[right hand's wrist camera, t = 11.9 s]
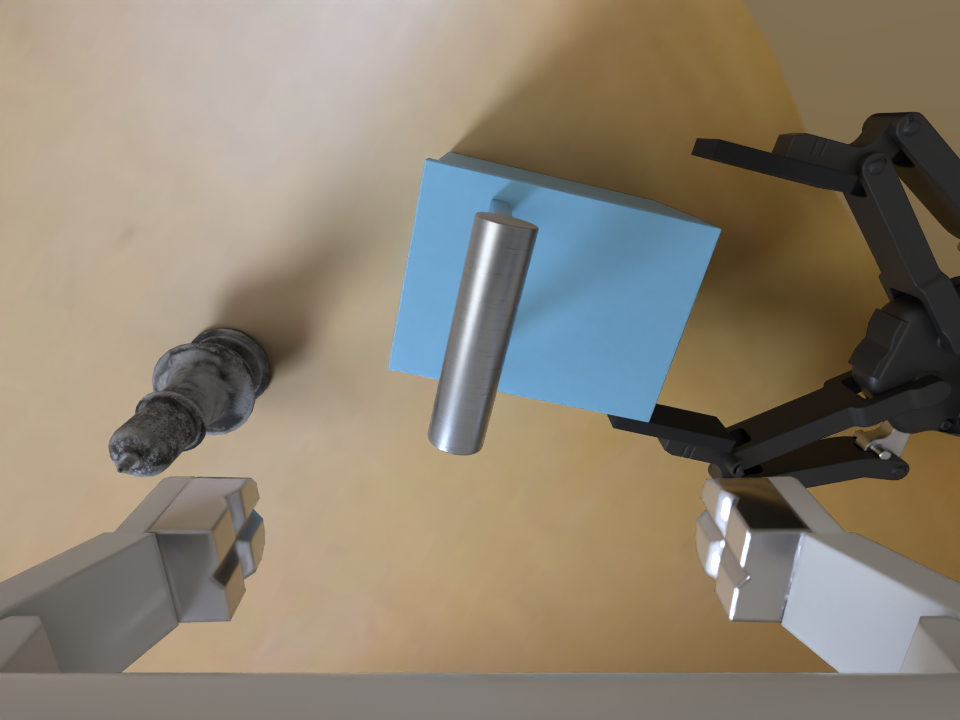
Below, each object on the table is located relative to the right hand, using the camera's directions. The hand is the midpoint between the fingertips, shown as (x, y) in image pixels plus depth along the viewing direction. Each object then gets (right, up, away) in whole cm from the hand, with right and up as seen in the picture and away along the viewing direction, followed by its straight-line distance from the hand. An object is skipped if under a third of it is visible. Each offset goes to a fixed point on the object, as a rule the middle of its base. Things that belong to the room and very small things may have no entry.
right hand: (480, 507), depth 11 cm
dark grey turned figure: (-16, +2, +26) cm, 31 cm away
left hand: (+8, +6, +18) cm, 21 cm away
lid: (+3, +6, +15) cm, 17 cm away
